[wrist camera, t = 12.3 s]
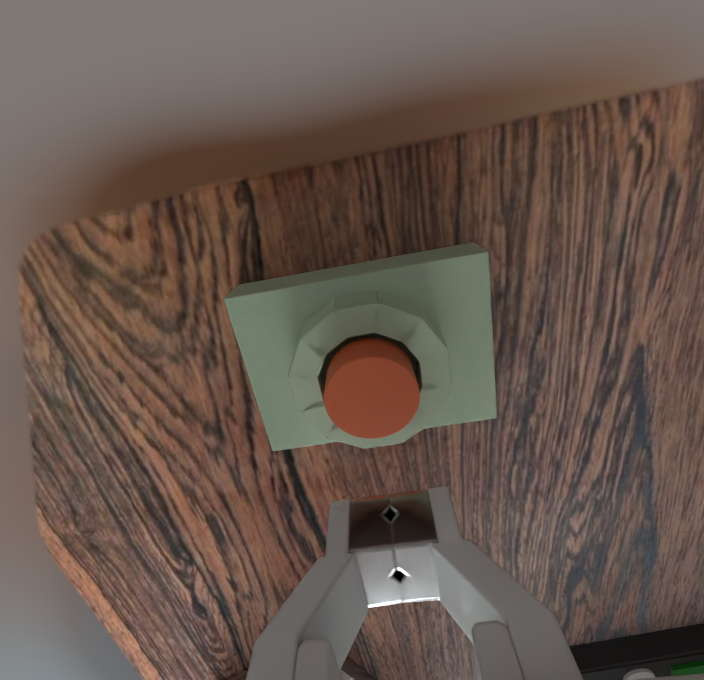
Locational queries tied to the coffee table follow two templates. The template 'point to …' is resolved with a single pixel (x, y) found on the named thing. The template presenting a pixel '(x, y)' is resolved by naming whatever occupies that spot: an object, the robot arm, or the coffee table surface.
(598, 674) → the remote control
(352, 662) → the bracket
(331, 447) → the coffee table surface
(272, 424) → the button box
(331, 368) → the button
